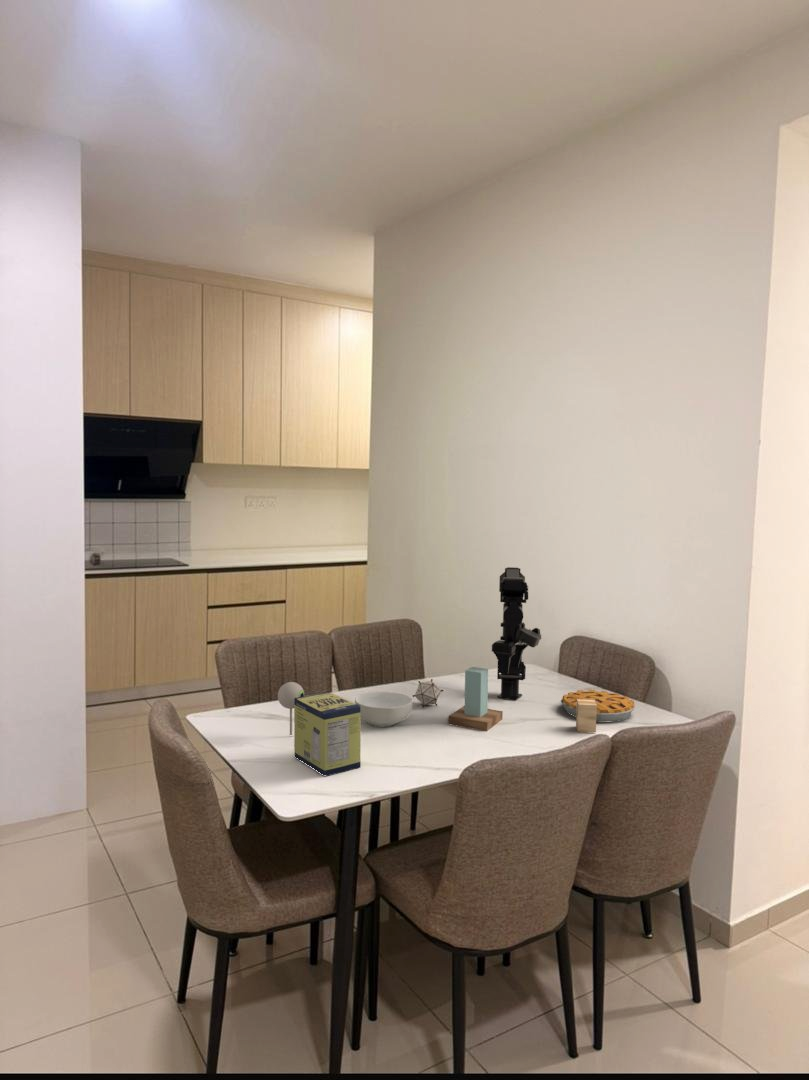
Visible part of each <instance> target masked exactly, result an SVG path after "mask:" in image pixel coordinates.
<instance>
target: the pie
mask: <svg viewBox="0 0 809 1080" xmlns="http://www.w3.org/2000/svg"><path fill="white" fill-rule="evenodd" d="M577 699H581V700H595V702H596V705H597V714H596V721H616V722H619V721H618V720H622V721H624V720H626V719H628V717H629V718H630V716H631V714H632V712H633V711H635V709H636V704H635V702H634V700H633V699H630V698H629V697H628V696H626V695H623V696H622V695H620V694H619V693H611V692H608V691H605V690H601V691H598V690H595V689H589V690H586V691H584V690H582V689H581V690H577V691H576V692H574V691H573V692H572V691H571V692H568V693H567V694H563V695H562V698H561V700H560V703H561V704H562V706H563V708H564V711H565V710H566V711H567V712H568V713H570V714H572V715H574V716H576V712H577ZM566 711H565V712H566ZM567 712H566V713H567ZM568 713H567V714H568ZM570 714H569V715H570ZM572 715H571V716H572ZM574 716H573V717H574ZM625 718H626V719H625ZM623 719H624V720H623Z"/></svg>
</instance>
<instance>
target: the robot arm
mask: <svg viewBox="0 0 809 1080" xmlns="http://www.w3.org/2000/svg"><path fill="white" fill-rule="evenodd" d="M498 588H499V589H498V591H499V593H500V596H499V597H500V598H499V599H500V603H503V604H502V605H503V607H502V622H500V628H501V627H502V635H501V636H500V637H499V638H500V640H496V641H494V642H493V643H492V644H491V652H493V654H494V656H495V657H496V660H497V672H496V674H497V675H496V676H497V680H500V693H499V694H498V695H497V696H496V697H497V698H498V699H499V698H500V699H506V700H510V701H518V699H520V698H521V697H522V696H523V693H520V692H519V691H520V681H524V680H526V668H527V666H526V665H525V663H524V661H523V657H522V655H523V654H524V650H525V649H527V648H528V647H531V648H535V647H537V646H538V645H539V643H540V640H542V634H541V629H540V628H538V627H534V628H533V629H531V628H529V629H528V628H527V627H526V623H525V622H523V619H524V611H523V604H527V601H528V600H529V585H528V583H527V582H526V576H525V575H523V573H521V568H519V567H514V566H513V567H512V566H511V567H509V566H508V567H505V568H504V572H503V573H502V574H500V575H499V587H498Z"/></svg>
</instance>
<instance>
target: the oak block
mask: <svg viewBox="0 0 809 1080" xmlns="http://www.w3.org/2000/svg"><path fill="white" fill-rule="evenodd" d="M596 714H597V705H596V702H595V700H581V699H577V712H576V717H575V727H576V731H578V732H577V733H582V732H596V733H597V722H596Z"/></svg>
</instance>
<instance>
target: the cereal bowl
mask: <svg viewBox="0 0 809 1080" xmlns="http://www.w3.org/2000/svg"><path fill="white" fill-rule="evenodd" d="M354 703H356V704H358V705H360V708H361V710H360V712H361V720H363V721H365V722H368V723H369V724H370V725H371V724H372V726H374V725H376V726H375V727H379V726H387V727H392V726H391V725H393V726H395V725H396V724H398V723H401V722H403V721H405V720H406V719H408V717H409V716H410V715H411V713H412V709H413V699H412V697H410V696H409V695H407V694H404V693H401V692H396V691H395V692H394V691H368V692H363V693H361V694H359V695H356V697H355V699H354Z"/></svg>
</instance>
